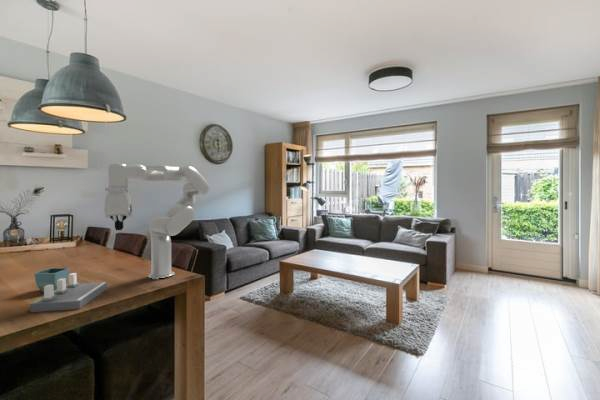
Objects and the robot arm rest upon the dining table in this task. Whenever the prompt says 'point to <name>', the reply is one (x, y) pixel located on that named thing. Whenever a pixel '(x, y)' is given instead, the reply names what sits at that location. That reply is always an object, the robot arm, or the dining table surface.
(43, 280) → the flower pot
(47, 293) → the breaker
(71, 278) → the cylinder
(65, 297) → the grey flat block
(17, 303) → the dining table surface
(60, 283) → the middle breaker
